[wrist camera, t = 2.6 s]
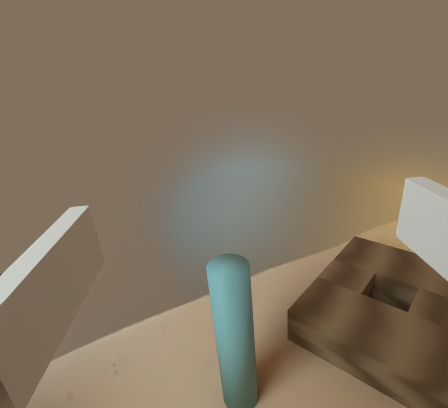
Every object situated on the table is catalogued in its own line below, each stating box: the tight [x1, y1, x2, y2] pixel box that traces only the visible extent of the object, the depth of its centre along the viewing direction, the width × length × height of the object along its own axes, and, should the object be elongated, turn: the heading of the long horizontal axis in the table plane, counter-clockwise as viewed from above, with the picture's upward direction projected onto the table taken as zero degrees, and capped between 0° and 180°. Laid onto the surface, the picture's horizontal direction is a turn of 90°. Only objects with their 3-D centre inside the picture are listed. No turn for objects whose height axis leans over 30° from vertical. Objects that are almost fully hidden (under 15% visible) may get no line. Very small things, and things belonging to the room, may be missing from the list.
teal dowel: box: [206, 254, 258, 408], centre depth 28 cm, size 4×4×16 cm
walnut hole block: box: [288, 237, 448, 408], centre depth 37 cm, size 16×20×4 cm
